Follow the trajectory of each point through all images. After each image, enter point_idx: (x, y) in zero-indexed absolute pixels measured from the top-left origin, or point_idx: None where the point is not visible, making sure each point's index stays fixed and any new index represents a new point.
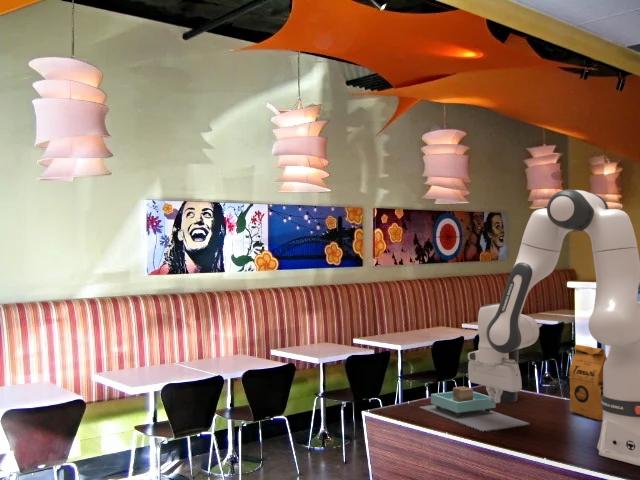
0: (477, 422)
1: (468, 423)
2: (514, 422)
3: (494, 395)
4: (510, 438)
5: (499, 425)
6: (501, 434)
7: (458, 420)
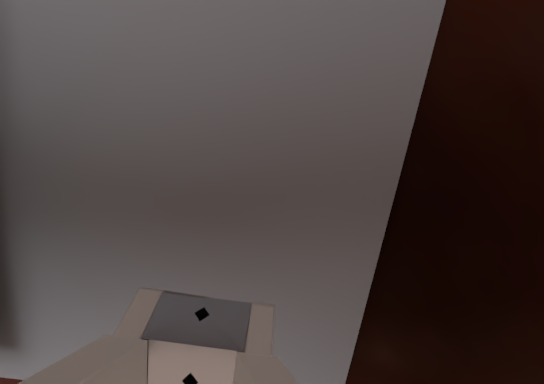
0: None
1: None
2: (337, 68)
3: (147, 351)
4: (540, 380)
5: (322, 249)
6: (448, 361)
7: None
